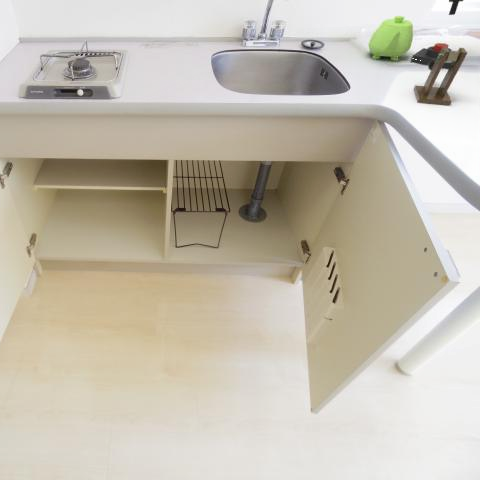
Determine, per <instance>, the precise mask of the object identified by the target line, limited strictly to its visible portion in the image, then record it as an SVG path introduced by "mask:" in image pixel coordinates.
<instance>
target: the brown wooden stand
mask: <svg viewBox="0 0 480 480" xmlns="http://www.w3.org/2000/svg"><path fill="white" fill-rule="evenodd" d="M448 48H449V47H448ZM448 48H447V47H442V49H441V51H440V53H439V55H438V57H437V59H436V62H435V64H434V66H433V68H432V70H430V71H429V74H428V76H427V78H426V81H425V83H424V84H423V85H414V86H413V89H412V90H413V93H414V96H415V98H416V99H415V100H416V102H417V104H418V103H419V104H427V105H428V104H429V105H441V106H451V104H452V103H453V100H452V99H451V97H450V94H449V91H448V90H449V89H450V88H451V87H450V86H451V85H452V83H453V81H454V80H455V77H456V75H457V74H458V72H459V70H460V68H461V66H462V64H463V63H464V60H465V59H466V57H467V55H468V51H467V50H466V48H465V47H459V48H458V50H457V51H460V52H459V55H458V58H457V60H456V61H455V62H453V63H452V64H451V66H450V67H449V69H447V72H446V73H445V75H444V77H443V79H442V81H441V83H440V85H439V86H434V84H435V83H436V80H437V78H438V76H439V74H440V72H441V71H442V69H443V68H442V66H443V64H444V62H445V60H446V58H447V56H448V54H449V50H448Z"/></svg>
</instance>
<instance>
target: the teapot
mask: <svg viewBox="0 0 480 480" xmlns="http://www.w3.org/2000/svg"><path fill="white" fill-rule="evenodd" d="M413 39H414V27H413V22H412V21H410V20H408V19H405V16H403V15H396V16H394V17H393V18H388V19H385V20H383V21H382V23H381V24H380V25H379V26H378V27H377V28H376V30H375V31H374V32H373V34H372V35H371V37H370V39H369V41H368V49H369V52H370V53H371V54H372V57H371V59H374V60H379V59H381V57H389V58H390V60H391V61H395V62H396V61H399V57H402V56H404V55H405V54H407V52H409V50H410V49H411V46H412V43H413ZM397 56H399V57H397Z"/></svg>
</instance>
